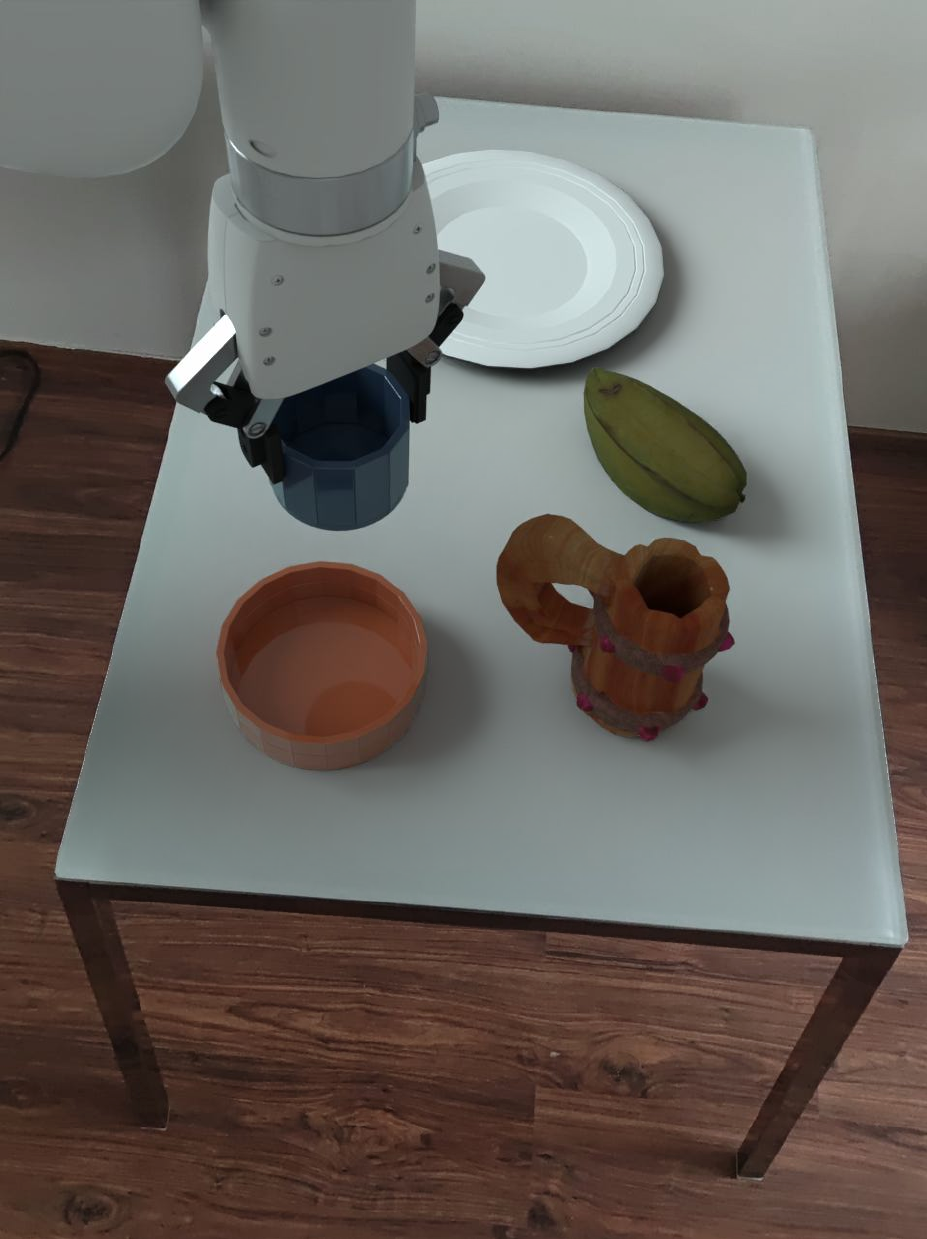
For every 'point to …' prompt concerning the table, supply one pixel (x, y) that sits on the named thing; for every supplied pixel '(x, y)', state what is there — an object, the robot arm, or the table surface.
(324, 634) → the big bowl
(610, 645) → the mug
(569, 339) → the plate
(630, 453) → the fruit
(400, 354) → the robot arm
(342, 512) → the small bowl
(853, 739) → the table surface
